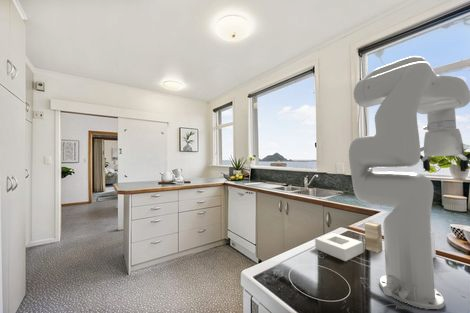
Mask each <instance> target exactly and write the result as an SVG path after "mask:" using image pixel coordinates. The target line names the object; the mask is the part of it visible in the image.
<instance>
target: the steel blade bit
mask: <svg viewBox="0 0 470 313" xmlns="http://www.w3.org/2000/svg"><path fill="white" fill-rule="evenodd" d="M435 238H436V237H435V231H434V230H431V239H432V255H433V260H434V259H435V258H436V257H437V256H436V254H437V253H436V240H435Z"/></svg>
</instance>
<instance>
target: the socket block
mask: <svg viewBox="0 0 470 313" xmlns="http://www.w3.org/2000/svg"><path fill="white" fill-rule="evenodd" d="M314 240H315V241H314V242H315V243H314V244H315V246H314V247H315V250H318V251H320V252H322V253H324V254H327V255H328V256H332V257H334V258H337V259H339V260H342V261H344V262H348V261H349V260H351V259H353V258H355V257H357V256H359V255H361V254H363V253H364V242H363V241H361V240H358V239H354V238H352V237H349V236H345V235H342V234H339V233H335V232H331V233H328V234H326V235H322V236H319V237H317V238H316V237H315V238H314Z"/></svg>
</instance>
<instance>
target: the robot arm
mask: <svg viewBox="0 0 470 313" xmlns="http://www.w3.org/2000/svg"><path fill="white" fill-rule="evenodd" d="M353 99H354V102H355V103H356V105H358V106H359V107H360V108H369V107H374V106H378V109H377V110H376V112H375V115H374V124H375V134H372V135H371V134H370V135H366V136H365V135H364V136H359V137H357V138H355V139H354V140H352V141H351V143H350V146H349V149H348V160H349V162H348V163H349V169H350V175H351V181H352V182H351V183H352V187H353V193H354V195H355V197H356V199H358V201H360V202H363V203H366V204H372V205H379V206H387V207H390V208H393V210H392V211H390V213H388V214H387V215H386V217H385V218H384V220H383V226H382V227H383V240H384V241H383V245H384V260H385V263H384V264H385V275H382V276H381V277H380V278H379V286H380V288H381V289H382V292H383V293H384V295H386V296H388V297H391V298H393V299H395V300H396V299H397V301H398V300H400V301H399V302H401V301H402V302H401V303H403V302H406V303H409V304H411V305H413V306H412V307H414V306H416V307H415V308H417V307H420V308H419V309H422V308H425V309H424V310H428V309H437V310H441V309H443V308H444V307H445V306H446V305H445V297H444V296H443V295H442V293H441V292H439V291H438V290H437V289H436V288H435V273H434V272H435V271H434V259H433V255H432V239H431V231H432V224H431V221H432V220H431V215H432V206H433V200H434V191H435V190H434V184H433V182H432V180H431V179H430V178H429V177H427V176H425V175H423V174H421V173H416V172H411V171H410V172H405V171H373V169H402V168H410V167H414V166H416V165H417V164H418V163H419V162H420V160H421V161H422V168H423V170H424V171H425V172H429V171H431V165H430V163H431V162H430V159H431V158H432V157H448V156H449V157H451V156H452V157H453V156H456V157H459V158H460V160H459V167H460V172H467V170H468V169H469V163H468V161H469V160H470V152H469V153H467V154H466V155H465V153H464V152H465V149H468V150H470V144H465V143H463V138H462V134H461V131H460V129H459V128H457V118H456V109H460V108H464V107H466V106H468V104H469V103H470V88H469V86H468V85H467V83H466V81H465V80H464V79H462V78H460V77H457V76H452V75H444V74H443V75H442V74H436V72H435V71H434V69H433V68H432V65H431V64H430V63H429V62H428V61H427V60H426V58H425V57H422V56H419V55H412V56H409V57H406V58H402V59H399V60H396V61H394V62H392V63H388V64H385V65H383V66H381V67H378V68H376V69H374V70H373V71H371V72H370V73H368V74H367V75H366V76H364V77H363V78H362V79H360V80H359V81H358V82H357V83H356V84H355V86H354V89H353ZM418 114H420V115H426V116H427V117H426V119H427V125H426V126H423V127H422V128H423V131H424V130H425V131H426V132H425V134H424V139H423V146H422V147H421V142H420V135H419V134H420V133H419V126H418V124H419V123H418V116H417V115H418ZM421 152H423V154H424V156H423V155H422V154H421Z"/></svg>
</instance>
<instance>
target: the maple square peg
mask: <svg viewBox="0 0 470 313" xmlns="http://www.w3.org/2000/svg"><path fill="white" fill-rule="evenodd" d="M364 235H365V239H364V240H365V250H368V251H369V252H373V253H376V254H379V253H380V252H381V253H382V251H383V236H382V224H381V223H378V222H372V221H368V222H365V223H364Z"/></svg>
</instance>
